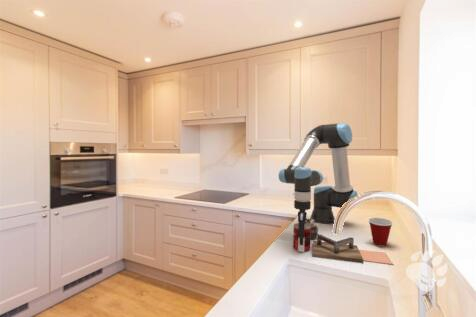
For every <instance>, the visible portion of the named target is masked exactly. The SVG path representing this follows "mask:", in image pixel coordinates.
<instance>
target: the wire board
mask: <svg viewBox="0 0 476 317" xmlns="http://www.w3.org/2000/svg"><path fill="white" fill-rule="evenodd" d="M354 241H355V240H354V237H348V238H344V239H340V240H337V241H336V240H334V239H331V238H329V237H326V236H325V235H323V234H321V233H320V234H319V233H318V234H317V239H316V240H312V257H314V258H320V259H328V260H336V261H344V262H352V263H357V264H358V263H360V264H364V261H363V258H362V256H361V254H360V251H359V250H360V249H359V247H358V245H356V244H354V243H355V242H354Z"/></svg>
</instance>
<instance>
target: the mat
mask: <svg viewBox="0 0 476 317" xmlns="http://www.w3.org/2000/svg"><path fill="white" fill-rule="evenodd" d="M359 251H360V254H361V256H362V258H363V262H367V263H375V264H382V265H389V266H390V265H392V266H394V263H393V261H392V260H391V259H390V256H388V254H387V253H386V252H385V251H384V252H382V251H375V250H364V249H359Z"/></svg>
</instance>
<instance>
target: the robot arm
mask: <svg viewBox="0 0 476 317" xmlns="http://www.w3.org/2000/svg"><path fill="white" fill-rule="evenodd" d="M352 141H353V131H352V129H351V127H350V125H349V124H348V123H340V122H339V123H338V122H337V123H329V124H321V125H320V124H319V125H318V126H316V127H314V128H313V129H311V130H309V132H308V133H307V134H306V135H305V137H304V139H303V143H302V144H301V146H300V147H299V150H298V151H297V153H296V154H295V155H294V157H293V158H292V160H291V161H290V163H289V164H288V166H287V168H283V169H280V171H278V172H279V173H278V180H279V181H280V182H281V183H283V184H284V183H285V184H292V185H294V192H293V193H292V195H293V197H294V199H293V200H294V201H293V203H294V204H293V208H294V209H295V210H299V211H297V222H298V223H299V232H298V236H297V237H298V250H297V252H301V253H304V252H305V251H304V240H305V237H304V225H305V223H306V219H307V213H308V212H306V211H308V210H310V209H311V206H312V205H311V200H312V197H311V196H312V191H311V190H312V189H311V188H312V187H313V186H314V189H313V210H312V212H311V215H310V219H311V218H312V219H313V220H314V221H315V222H314V223H318V222H319V224H333V223H335V222H334V220H336V219H335V216H334V212H333V207H334V208H340V209H342V208H341V207H342V205H343V204H344V203H345V202H347V201H348V200H349V199H351V198H353V197H355V196H357V197H358V192H357V191H356V190H354V186H352V185H351V181H350V171H349V161H348V160H349V159H348V147H349V146H350V144H351V143H352ZM323 144H324V145H325V144H326V145H327V146H328V149H330V151H331V159H332V168H333V177H334V186H332V185H321V183H322V182H323V180H324V175H323V174H322V172H321V171H319V170H312V169H311V168H310V167H305V166H306V164H307V163H308V162H309V159H310V158H311V156H312V155H313V153H314V152H315V149H317V148H318V147H319V146H320V145H323ZM318 185H321V186H318ZM331 222H332V223H331Z"/></svg>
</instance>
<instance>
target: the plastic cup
mask: <svg viewBox="0 0 476 317" xmlns="http://www.w3.org/2000/svg"><path fill="white" fill-rule="evenodd" d="M367 222H368V223H369V227H370V232H371V233H370V234H371V236H372V238H371V239H372V243H373V244H374V245H376V246H379V247H386V246H387V244H388V241H389V236H390V232H391V229H392V226H393V224H394V222H393V221H392V220H390V219H387V218H383V217H371V218H370V217H369V218H368V219H367Z"/></svg>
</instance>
